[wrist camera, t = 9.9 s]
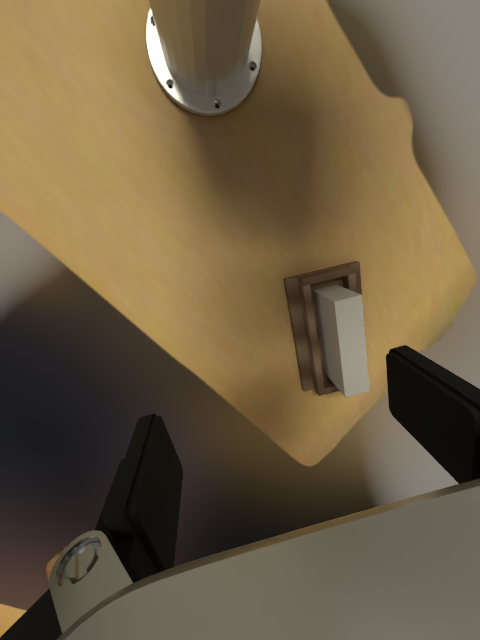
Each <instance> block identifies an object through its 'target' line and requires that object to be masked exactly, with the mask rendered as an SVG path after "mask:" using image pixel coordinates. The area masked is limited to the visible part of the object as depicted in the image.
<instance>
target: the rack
mask: <svg viewBox="0 0 480 640" xmlns="http://www.w3.org/2000/svg"><path fill="white" fill-rule="evenodd" d="M284 283H285V289H286V295H287V301H288V307H289V313H290V319H291V325H292V331H293V337H294V343H295V349H296V355H297V361H298V367H299V373H300V379H301V385H302V389H303V391H308V390H312V389H315V391H316V392H317V394H318V395H319V396H320V395H324V394H328V393H332V392H336V391H340V390H339V389H338V388H337V387H336V386H335V384H334V383H333V382H332V381H331V380H330V378H329V377H328V376H327V375H326V374H325V370H324V363H323V356H322V349H321V341H320V334H319V327H318V320H317V313H316V305H315V298H314V291H313V290H316V289H320V288H324V287H328V286H332V285H339V286H341V287H344V288H346V289H349V290H351V291H353V292H356V293H358V294H361V295H362V291H361V278H360V264H359V262H357V261H355V262H350V263H346V264H342V265H338V266H334V267H330V268H326V269H321V270H317V271H313V272H309V273H305V274H301V275H297V276H292V277H288V278H284Z"/></svg>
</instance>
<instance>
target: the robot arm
mask: <svg viewBox="0 0 480 640" xmlns="http://www.w3.org/2000/svg"><path fill="white" fill-rule="evenodd" d="M260 1H261V0H149V3H150V8H149V11H148V15H147V22H146V45H147V51H148V56H149V60H150V63H151V66H152V69H153V71H154V73H155V76H156V78H157V80H158V82H159V83H160V85H161V87H162V88H163V90H164V91H165V92H166V94H167V95H168V96H169V97H170V98H171V99H172V100H173V101H174V102H175V103H177V104H178V105H179V106H180V107H182V108H184V109H185V110H187V111H189V112H191V113H194V114H198V115H201V116H216V115H222V114H224V113H227V112H229V111H231V110H233V109H234V108H235V107H237V106H238V105H240V104H241V103H242V101H243V100H244V99H245V98H246V97H247V96H248V94H249V93H250V91H251V89H252V88H253V86H254V83H255V81H256V78H257V76H258V72H259V69H260V64H261V57H262V37H261V31H260V25H259V22H258V19H257V14H258V10H259V5H260ZM154 25H155V26H154ZM251 68H252V69H253V70H254V71H251V70H250V69H251ZM169 86H173V88H172V89H169ZM216 105H218V106H219V108H216V107H215V106H216ZM386 365H387V381H388V398H389V409H390V412H391V413H392V415H393V416H394V418H395V419H396V420H397V421H398V422H399V423H400V424H401V425H402V426H403V427H404V428H405V429H406V430H407V431H408V432H409V433H410V434H411V435H412V436H413V437H414V438H415V439H416V440H417V441H418V442H419V443H420V444H421V445H422V446H423V447H424V448H425V449H426V450H427V451H428V452H429V453H430V454H431V455H432V456H433V457H434V458H435V460H436V461H437V462H438V463H439V464H440V465H441V466H442V467H443V468H444V469H445V470H446V471H447V472H448V473H449V474H450V475H451V476H452V477H453V478H454V479H455V480H456V481H457V482H458V483H459V484H458V485H454V486H450V487H447V488H444V489H440V490H436V491H432V492H429V493H425V494H422V495H418V496H415V497H411V498H407V499H404V500H400V501H397V502H393V503H390V504H386V505H383V506H379V507H376V508H372V509H369V510H365V511H362V512H358V513H355V514H351V515H348V516H344V517H341V518H338V519H334V520H330V521H327V522H323V523H320V524H316V525H313V526H310V527H306V528H303V529H299V530H296V531H292V532H289V533H286V534H282V535H279V536H276V537H272V538H268V539H265V540H262V541H259V542H255V543H251V544H248V545H245V546H241V547H238V548H234V549H231V550H228V551H224V552H221V553H218V554H214V555H211V556H208V557H205V558H202V559H199V560H196V561H192V562H189V563H186V564H183V565H179V566H176V567H174V558H175V548H176V538H177V528H178V518H179V509H180V498H181V488H182V478H183V470H182V465H181V463H180V460H179V458H178V456H177V453H176V451H175V448H174V446H173V443H172V441H171V439H170V436H169V434H168V432H167V429H166V427H165V424H164V422H163V419H162V417H161V416H156V414H150V415H147V416H143V417H140V418H139V420H138V423H137V425H136V428H135V431H134V433H133V436H132V439H131V442H130V444H129V447H128V450H127V453H126V456H125V458H123V459H122V460H121V462H120V464H119V466H118V469H117V472H116V475H115V477H114V480H113V483H112V485H111V488H110V491H109V493H108V496H107V499H106V501H105V504H104V507H103V509H102V512H101V515H100V517H99V520H98V523H97V525H96V528H95V531H90V532H87V533H85V534H83V535H81V536H79V537H78V538H76V539H75V540H74V541H72V542H71V543H70V544H69V545H68V546H67V547H66V548H65V549H64V550H63V552H62V553H61V554H60V556H59V557H58V558H57V560H56V562H55V564H54V566H53V568H52V570H51V573H50V577H49V589H48V590H47V592H46V593H45V594H43V595H42V596H41V598H39V599H38V600H37V601H36V602H35V603H34V604H33V606H31V607H30V608H29V609H28V610H27V611H26V612H25V613H24V614H23V615H22V616H21V617H20V618H19V619H18V620H17V621H16V622H15V623H14V624H13V625H12V626H11V627H10V628H9V629H8V630H7V631H6V632H5V633H4V634H3V635H2V636H1V637H0V640H480V389H479V388H477V387H475V386H474V385H472V384H470V383H468V382H467V381H465V380H464V379H462V378H460V377H458V376H456V375H455V374H453V373H452V372H450V371H448V370H447V369H445V368H443V367H442V366H440V365H438V364H437V363H435V362H433V361H432V360H430V359H428V358H426V357H425V356H423V355H422V354H420V353H418V352H417V351H415V350H413V349H412V348H410V347H408V346H406V345H404V346H400V347H396V348H393V349H390V351H389V353H388V354H387V355H386Z"/></svg>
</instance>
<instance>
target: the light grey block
mask: <svg viewBox="0 0 480 640" xmlns="http://www.w3.org/2000/svg"><path fill="white" fill-rule="evenodd" d="M313 291H314V298H315V305H316V313H317V320H318V327H319V334H320V341H321V349H322V356H323V363H324V370H325V374H326V375H327V376H328V377H329V378H330V380H331V381H332V382H333V383H334V384H335V386H336V387H337V388H338V389H339V390H340V392H341V393H342V394H343V395H344V397H349V396H353V395H357V394H360V393H364V392H368V391H369V379H368V366H367V354H366V341H365V329H364V316H363V304H362V295H361V294H358V293H356V292H353V291H351V290H349V289H346V288H344V287H341V286H339V285H332V286H328V287H324V288H320V289H316V290H313Z"/></svg>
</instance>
